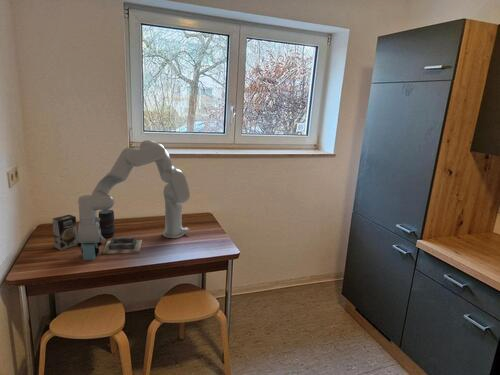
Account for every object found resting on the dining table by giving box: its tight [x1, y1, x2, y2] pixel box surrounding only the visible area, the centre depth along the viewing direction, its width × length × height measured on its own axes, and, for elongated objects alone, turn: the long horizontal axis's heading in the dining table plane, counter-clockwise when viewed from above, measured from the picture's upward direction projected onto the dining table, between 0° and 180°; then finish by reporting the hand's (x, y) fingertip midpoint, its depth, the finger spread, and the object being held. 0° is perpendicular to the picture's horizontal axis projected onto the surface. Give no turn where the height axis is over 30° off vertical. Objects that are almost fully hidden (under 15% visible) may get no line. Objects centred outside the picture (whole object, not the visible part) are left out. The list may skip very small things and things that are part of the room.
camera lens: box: [98, 209, 116, 239], centre depth 188 cm, size 8×8×15 cm
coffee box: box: [52, 214, 78, 251], centre depth 173 cm, size 9×6×16 cm
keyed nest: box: [102, 237, 143, 255], centre depth 177 cm, size 18×14×4 cm
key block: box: [81, 243, 97, 261], centre depth 165 cm, size 5×8×7 cm, turn 12°
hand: (90, 254), depth 165 cm, fingers closed on key block, 5 cm apart
